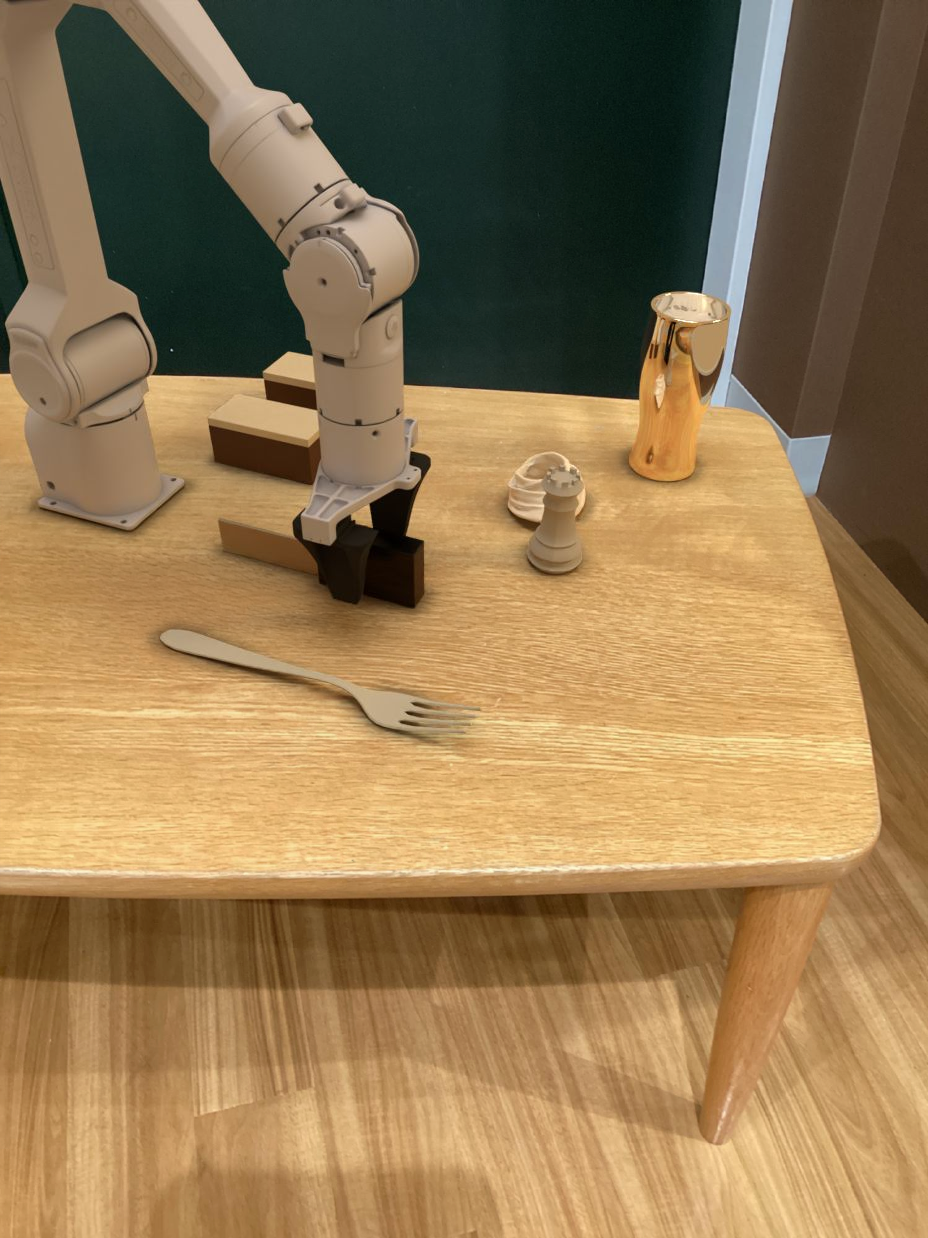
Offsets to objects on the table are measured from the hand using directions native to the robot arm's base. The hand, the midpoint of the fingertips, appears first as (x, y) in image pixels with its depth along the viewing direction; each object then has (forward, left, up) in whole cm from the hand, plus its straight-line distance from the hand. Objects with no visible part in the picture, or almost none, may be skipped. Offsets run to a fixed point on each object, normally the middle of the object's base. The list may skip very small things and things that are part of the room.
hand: (369, 569), depth 69 cm
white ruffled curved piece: (+9, +16, -2) cm, 18 cm away
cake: (-16, +14, -2) cm, 21 cm away
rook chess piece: (+12, +9, -2) cm, 15 cm away
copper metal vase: (+17, +27, -2) cm, 32 cm away
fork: (+1, -11, -2) cm, 11 cm away
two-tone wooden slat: (-4, 0, -2) cm, 5 cm away
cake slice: (-16, +24, -2) cm, 29 cm away
